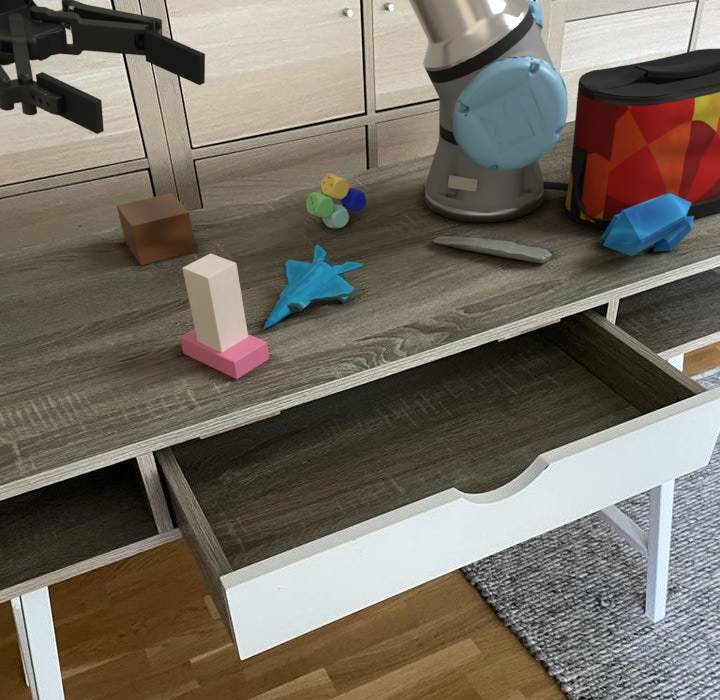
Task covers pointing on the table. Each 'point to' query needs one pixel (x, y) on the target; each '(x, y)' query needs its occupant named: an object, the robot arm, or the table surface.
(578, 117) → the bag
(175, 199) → the wood block
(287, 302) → the toy airplane
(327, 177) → the dice
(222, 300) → the block on pink pedestal
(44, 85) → the robot arm
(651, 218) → the crystal
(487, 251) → the stone tool
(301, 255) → the table surface
